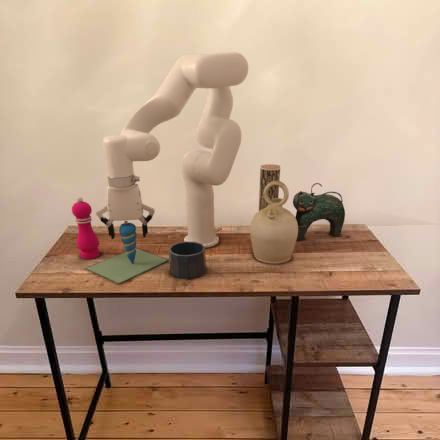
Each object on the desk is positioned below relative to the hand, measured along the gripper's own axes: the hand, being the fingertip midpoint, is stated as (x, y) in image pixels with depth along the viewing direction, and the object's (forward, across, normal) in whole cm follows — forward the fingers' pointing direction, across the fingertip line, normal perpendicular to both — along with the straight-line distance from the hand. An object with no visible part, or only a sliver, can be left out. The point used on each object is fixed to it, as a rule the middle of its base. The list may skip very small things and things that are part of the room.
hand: (129, 236), depth 125 cm
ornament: (+9, 0, 0) cm, 9 cm away
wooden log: (+10, -48, -20) cm, 53 cm away
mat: (+10, +2, 0) cm, 10 cm away
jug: (+10, -46, -1) cm, 47 cm away
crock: (+10, -18, +6) cm, 21 cm away
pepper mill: (+10, +15, -9) cm, 20 cm away
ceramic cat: (+10, -65, -16) cm, 68 cm away
